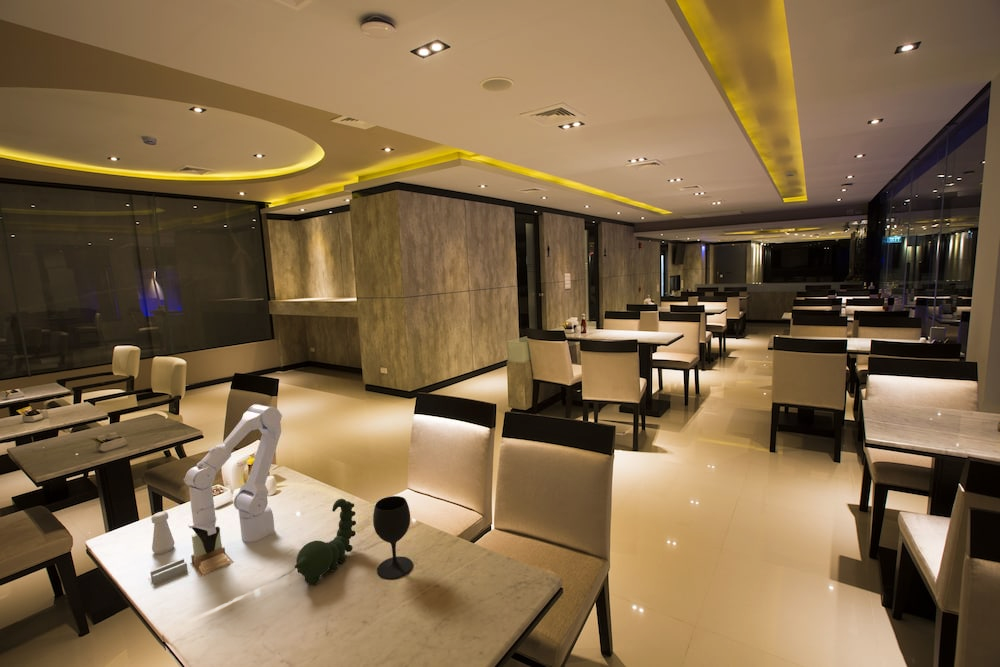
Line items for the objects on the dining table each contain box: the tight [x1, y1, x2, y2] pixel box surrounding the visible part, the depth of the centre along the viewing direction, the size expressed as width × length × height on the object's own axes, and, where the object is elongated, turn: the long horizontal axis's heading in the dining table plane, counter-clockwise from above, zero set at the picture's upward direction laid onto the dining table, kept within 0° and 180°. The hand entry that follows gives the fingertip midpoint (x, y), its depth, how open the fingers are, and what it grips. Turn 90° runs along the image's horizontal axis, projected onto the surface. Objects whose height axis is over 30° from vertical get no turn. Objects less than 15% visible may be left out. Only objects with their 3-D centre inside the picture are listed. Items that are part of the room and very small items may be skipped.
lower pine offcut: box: [199, 555, 230, 575], centre depth 137 cm, size 7×4×1 cm, turn 137°
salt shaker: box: [151, 510, 175, 555], centre depth 146 cm, size 6×6×13 cm
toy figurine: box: [294, 498, 357, 586], centre depth 134 cm, size 9×19×25 cm
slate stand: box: [148, 558, 191, 588], centre depth 133 cm, size 9×6×3 cm, turn 137°
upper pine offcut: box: [201, 553, 227, 570], centre depth 137 cm, size 6×4×1 cm, turn 137°
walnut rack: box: [189, 543, 235, 578], centre depth 139 cm, size 9×10×3 cm
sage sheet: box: [191, 525, 223, 558], centre depth 140 cm, size 7×2×9 cm, turn 137°
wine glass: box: [372, 495, 414, 580], centre depth 133 cm, size 10×10×20 cm
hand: (207, 548), depth 140 cm, fingers open, 4 cm apart
